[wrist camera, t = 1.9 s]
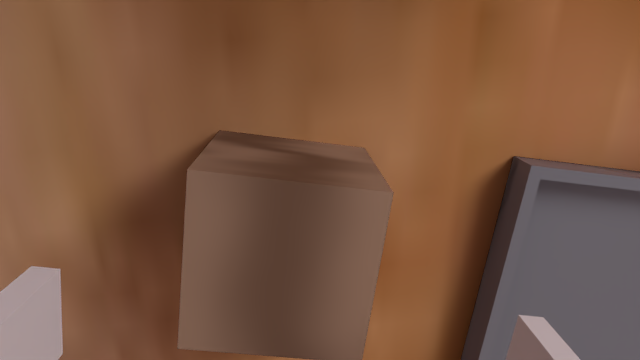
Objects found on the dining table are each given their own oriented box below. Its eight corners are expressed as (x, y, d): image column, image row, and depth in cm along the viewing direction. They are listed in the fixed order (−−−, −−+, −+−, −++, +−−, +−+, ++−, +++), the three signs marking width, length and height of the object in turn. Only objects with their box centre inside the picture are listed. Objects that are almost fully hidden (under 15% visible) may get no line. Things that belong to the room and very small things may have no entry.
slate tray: (453, 387, 27) (464, 411, 25) (513, 156, 23) (531, 165, 21) (674, 404, 28) (699, 427, 26) (767, 187, 24) (803, 198, 22)
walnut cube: (210, 262, 24) (177, 348, 17) (219, 130, 22) (187, 169, 15) (343, 275, 25) (361, 363, 18) (364, 147, 23) (393, 192, 16)
